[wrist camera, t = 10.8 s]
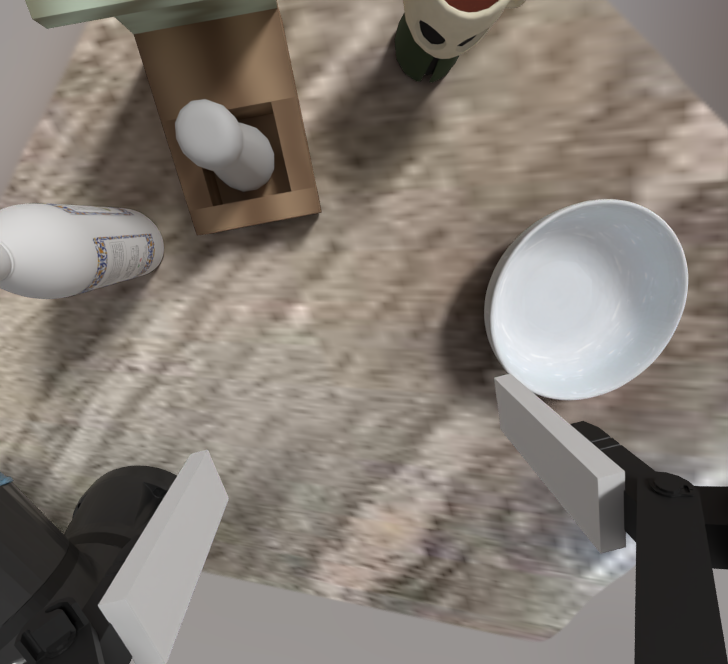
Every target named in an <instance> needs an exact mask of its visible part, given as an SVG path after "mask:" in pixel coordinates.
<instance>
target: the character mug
mask: <svg viewBox="0 0 728 664" xmlns="http://www.w3.org/2000/svg"><path fill="white" fill-rule="evenodd" d="M525 1H526V0H403V3H404V10H405V13H404V14H403V16H402V18H401V20H400V22H399V24H398V29H397V33H396V37H395V48H396V57H397V61H398V62H399V64H400V66H401V67H402V69H403V71H404V73H405V74H407V75H408V76H409V77H411V78H412V79H414V80H415V81H418V82H420V81H421V79H422V78H423V76H424V74H426V75H429V74H432V73H433V75H432V77H431V79H430V82H435V81H436V80H438V79H440V78H442V77H444V76H445V75H446V74H447V73H448V72H449V70H450V69H451V68H452V67H453V65H454V64H455V63H456V61H457V59H458V57H459V55H462V54H464V53H465V52H467V51H468V50H470V49H471V48H473V47H474V46H475V45H476V44H478V43H479V42H480V41H481V40H482V39H483V38H484V37H485V35H486V34H487V32H488V31H489V29H490V28H491V27H492V26H493V24H494V23H495V22H497V20H498V18H499V17H500V15H501V14H502V12H503V10H504V9H505V8H511V9H512V8H518V7H520V6H521V5H522V4H523V3H524V2H525Z"/></svg>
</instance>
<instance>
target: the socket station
mask: <svg viewBox="0 0 728 664" xmlns="http://www.w3.org/2000/svg"><path fill="white" fill-rule="evenodd" d="M25 1H26V4H27V7H28V9H29V11H30V14H31V17H32V19H33V20H35V21H36V22H38V23H39V24H41V25H42V26H44V27H45V28H47V29H49V28H54V27H59V26H65V25H70V24H76V23H82V22H87V21H93V20H98V19H104V18H109V17H115V18H116V19H117V20H119V21H120V22H121V23H122V24H123V25H124V26H125V27H126V28H127V29H128V30H130V31H131V32H132V33H133V34H134V37H135V40H136V43H137V46H138V50H139V53H140V56H141V59H142V62H143V65H144V69H145V72H146V75H147V78H148V81H149V85H150V88H151V91H152V94H153V97H154V101H155V104H156V107H157V110H158V113H159V116H160V120H161V123H162V126H163V129H164V132H165V136H166V139H167V142H168V145H169V148H170V151H171V155H172V158H173V161H174V164H175V167H176V171H177V174H178V177H179V180H180V183H181V186H182V190H183V193H184V196H185V199H186V202H187V206H188V209H189V212H190V215H191V218H192V222H193V225H194V228H195V231H196V234H197V235H204V234H212V233H217V232H222V231H227V230H233V229H238V228H243V227H248V226H254V225H259V224H264V223H269V222H275V221H280V220H285V219H290V218H296V217H301V216H306V215H311V214H317V213H322V212H321V207H320V201H319V196H318V192H317V187H316V182H315V177H314V172H313V167H312V162H311V158H310V153H309V148H308V143H307V138H306V133H305V129H304V124H303V119H302V114H301V109H300V104H299V100H298V95H297V90H296V85H295V80H294V75H293V70H292V66H291V61H290V56H289V51H288V46H287V41H286V37H285V32H284V27H283V22H282V18H281V15H280V11H279V8H278V4H277V0H25ZM202 99H206V100H209V101H212V102H215V103H218V104H221V105H223V106H224V107H225V108H226V109H227V110H228V111H229V112H230V113H231V114H232V115H233V116H234V117H235V118H236V119H237V121H238V122H239V123H243V124H246V125H249V126H252V127H255V128H257V129H258V130H259V131H260V132H261V133H262V134H263V135H264V136H265V137H266V138H267V139H268V141H269V143H270V145H271V148H272V150H273V152H274V171H273V173H272V175H271V177H270V179H269V181H268V182H267V183H266V184H264V185H263V186H262V187H260V188H259V189H257V190H251V191H245V192H243V191H240V190H237V189H234V188H231V187H229V186H228V185H227V184H226V183H225V182H223V181H222V180H221V179H220V178H219V177H218V176H217V175H216V174H215V172H214V171H211V170H208V169H206V168H203V167H200V166H197V165H196V164H195V163H194V162H193V161H191V160H190V159H189V158H188V157H187V156H186V155H185V154H184V153H183V152H182V150H181V148H180V146H179V144H178V141H177V139H176V131H175V122H176V119H177V117H178V115H179V112H180V110H181V109H182V108H183V107H184V106H186V105H187V104H188V103H189V102H190V101H195V100H202Z"/></svg>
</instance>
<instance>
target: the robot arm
mask: <svg viewBox="0 0 728 664" xmlns="http://www.w3.org/2000/svg"><path fill="white" fill-rule="evenodd" d="M494 382H495V390H496V397H497V404H498V412H499V419H500V427H501V431H502V432H503V433H504V434H505V435H506V437H507V438H508V439H509V440H510V442H511V443H512V444H513V445H514V447H515V448H516V449H517V450H518V452H519V453H520V454H521V455H522V457H523V458H524V459H525V460H526V461H527V463H528V464H529V465H530V466H531V468H532V469H533V470H534V471H535V473H536V474H537V475H538V476H539V478H540V479H541V480H542V481H543V483H544V484H545V485H546V486H547V488H548V489H549V490H550V491H551V492H552V494H553V495H554V496H555V497H556V499H557V500H558V501H559V502H560V504H561V505H562V506H563V507H564V509H565V510H566V511H567V512H568V514H569V515H570V516H571V517H572V518H573V520H574V521H575V522H576V523H577V525H578V526H579V527H580V528H581V530H582V531H583V532H584V533H585V535H586V536H587V537H588V538H589V540H590V541H591V542H592V543H593V545H594V546H595V547H596V548H597V549H598V551H599V552H600V553H605V552H609V551H613V550H616V549H620V548H624V547H626V532H627V533H628V534H629V535H630V537H631V538H632V539H633V540H634V541H635V542H636V597H635V602H636V603H635V664H728V661H727V655H726V649H725V642H724V637H723V630H722V625H721V619H720V613H719V607H718V600H717V595H716V588H715V583H714V576H713V570H712V568H714V569H715V568H716V569H728V487H714V486H694V485H692V484H691V483H690V482H689V481H687V480H685V479H683V478H681V477H679V476H677V475H673V474H670V473H666V472H656V471H654V470H653V469H652V468H650V467H649V466H648V465H647V464H645V463H644V462H643V461H641V460H640V459H639V458H638V457H636V456H635V455H634V454H632V453H631V452H630V451H628V450H627V449H626V448H625V447H623V446H622V445H621V446H620V444H619V443H618V442H617V441H616V440H614V439H613V438H610V436H609V435H608V434H606V433H605V432H604V431H603V430H601V429H600V428H599V427H597V426H594V425H592V424H589V423H587V422H584V421H581V422H577V423H573V424H569V423H568V422H567V421H565V420H564V419H563V418H562V417H561V416H560V415H558V414H557V413H556V412H555V411H554V410H553V409H551V408H550V407H549V406H548V405H547V404H546V403H544V402H543V401H542V400H541V399H540V398H539V397H537V396H536V395H535V394H534V393H533V392H531V391H530V390H529V389H528V388H527V387H526V386H524V385H523V384H522V383H521V382H520V381H519V380H517V379H516V378H515V377H514V376H513V375H512V374H507V375H503V376H499V377H495V378H494ZM12 481H14V480H13V479H12V478H11V477H6V476H5V475H4V474H2V473H1V472H0V664H129V663H130V661H131V659H133V661H134V662H135V664H167V661H168V658H169V656H170V653H171V651H172V648H173V645H174V643H175V640H176V637H177V634H178V632H179V629H180V627H181V624H182V621H183V619H184V616H185V614H186V611H187V608H188V605H189V603H190V600H191V598H192V595H193V592H194V590H195V587H196V584H197V582H198V579H199V576H200V574H201V571H202V568H203V566H204V563H205V561H206V558H207V555H208V553H209V550H210V547H211V545H212V542H213V539H214V537H215V534H216V531H217V529H218V526H219V523H220V521H221V518H222V515H223V513H224V510H225V507H226V505H227V502H228V500H229V497H228V495H227V493H226V491H225V488H224V486H223V484H222V481H221V479H220V477H219V474H218V472H217V470H216V467H215V465H214V463H213V461H212V458H211V456H210V454H209V451H208V450H204V451H200V452H196V453H192V454H190V456H189V458H188V459H187V461H186V463H185V464H184V466H183V467H182V469H181V471H180V472H179V474H178V476H176V475H174V474H172V473H170V472H168V471H165V470H162V469H159V468H155V467H149V466H127V467H122V468H118V469H115V470H112V471H110V472H108V473H106V474H104V475H103V476H101V477H100V478H99V479H97V480H96V481H95V482H94V483H93V485H92V486H91V487H90V488H89V489H88V490H87V491H86V492H85V493H84V494H83V496H82V497H81V499H80V500H79V502H78V503H77V506H76V508H75V510H74V514H73V519H72V521H71V522H70V524H69V526H68V528H67V530H66V532H65V534H63V533H62V532H61V531H60V530H59V529H58V528H57V527H56V526H55V525H54V524H53V523H52V522H51V521H50V520H49V519H48V518H47V517H45V516H44V515H43V513H42V512H41V511H40V510H39V509H38V508H37V507H36V506H35V505H34V504H33V503H32V502H31V501H30V500H29V499H28V498H27V497H26V496H25V495H24V494H23V493H22V492H21V491H20V490H19V488H18V487H17V486H16V485H15V484H14V483H13V482H12Z"/></svg>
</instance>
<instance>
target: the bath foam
mask: <svg viewBox="0 0 728 664" xmlns="http://www.w3.org/2000/svg"><path fill="white" fill-rule="evenodd" d="M163 253H164V243H163V238H162V235H161V233H160V231H159V229H158V228H157V226H156V225H155V224H154V223H153V222H152V221H151V220H150V219H149V218H148V217H147V216H145V215H144V214H142V213H140V212H138V211H135V210H132V209H127V208H115V207H99V206H81V205H63V204H45V203H29V204H20V205H15V206H10V207H7V208H4V209H1V210H0V288H1V289H4V290H6V291H8V292H11V293H14V294H17V295H21V296H25V297H30V298H38V299H56V298H65V297H70V296H74V295H77V294H81V293H84V292H88V291H91V290H95V289H98V288H102V287H105V286H109V285H112V284H116V283H119V282H123V281H126V280H130V279H133V278H136V277H139V276H143V275H146V274H148V273H150V272H151V271H153V270H154V269H155V268H156V267H157V266H158V265H159V264H160V262H161V260H162V257H163Z"/></svg>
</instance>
